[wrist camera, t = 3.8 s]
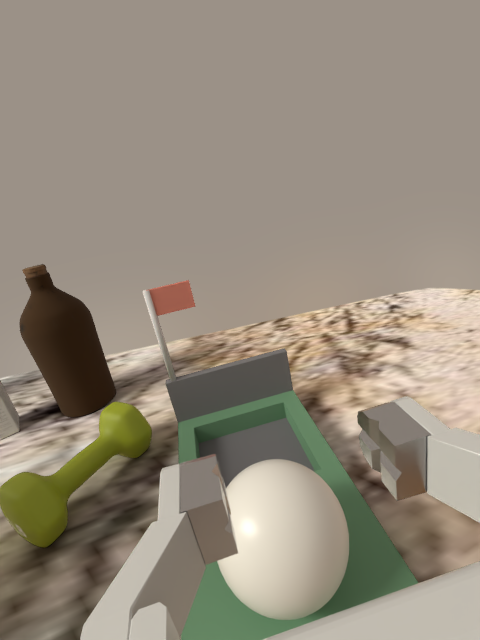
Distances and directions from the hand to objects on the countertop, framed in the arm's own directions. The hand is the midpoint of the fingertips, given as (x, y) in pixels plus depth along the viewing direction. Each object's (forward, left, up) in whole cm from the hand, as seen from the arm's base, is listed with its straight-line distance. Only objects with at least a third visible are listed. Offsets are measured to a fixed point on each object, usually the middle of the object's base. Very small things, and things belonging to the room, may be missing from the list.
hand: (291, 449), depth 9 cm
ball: (+4, +8, -15) cm, 17 cm away
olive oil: (+3, +55, -22) cm, 59 cm away
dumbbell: (-3, +33, -22) cm, 40 cm away
